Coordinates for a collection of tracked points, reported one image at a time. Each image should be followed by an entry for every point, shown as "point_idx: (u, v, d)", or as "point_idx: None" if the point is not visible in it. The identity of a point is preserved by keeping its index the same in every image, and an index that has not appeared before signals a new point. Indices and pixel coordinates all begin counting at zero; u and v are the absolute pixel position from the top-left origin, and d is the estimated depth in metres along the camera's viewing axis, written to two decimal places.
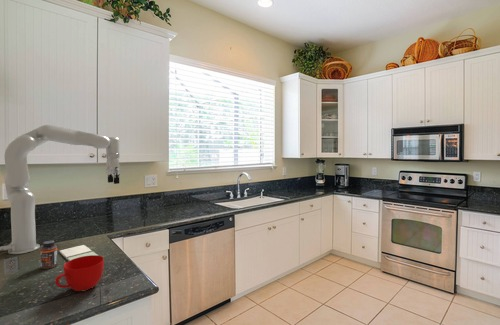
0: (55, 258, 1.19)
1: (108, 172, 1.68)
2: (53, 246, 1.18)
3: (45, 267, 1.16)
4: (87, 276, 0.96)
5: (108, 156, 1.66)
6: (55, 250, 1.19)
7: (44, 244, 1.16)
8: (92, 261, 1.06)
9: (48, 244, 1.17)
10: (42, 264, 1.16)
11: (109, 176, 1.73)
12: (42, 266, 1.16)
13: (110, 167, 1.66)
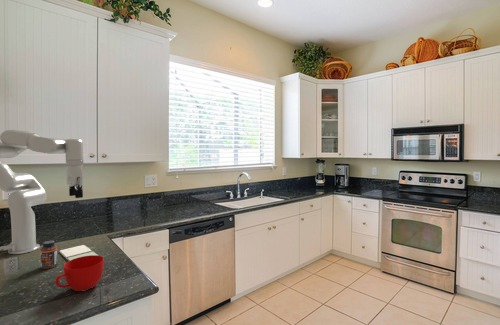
0: (55, 258, 1.19)
1: (68, 183, 1.33)
2: (53, 246, 1.18)
3: (45, 267, 1.16)
4: (87, 276, 0.96)
5: (68, 163, 1.31)
6: (55, 250, 1.19)
7: (44, 244, 1.16)
8: (92, 261, 1.06)
9: (48, 244, 1.17)
10: (42, 264, 1.16)
11: (71, 188, 1.38)
12: (42, 266, 1.16)
13: (70, 177, 1.31)
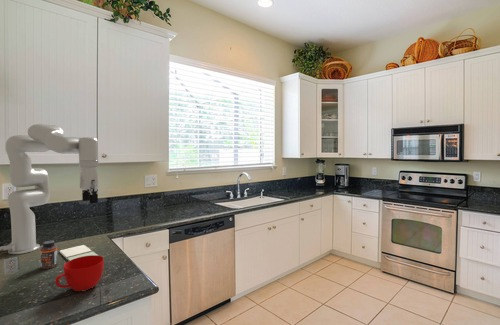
0: (55, 258, 1.19)
1: (82, 187, 1.19)
2: (53, 246, 1.18)
3: (45, 267, 1.16)
4: (87, 276, 0.96)
5: (81, 164, 1.17)
6: (55, 250, 1.19)
7: (44, 244, 1.16)
8: (92, 261, 1.06)
9: (48, 244, 1.17)
10: (42, 264, 1.16)
11: (84, 192, 1.24)
12: (42, 266, 1.16)
13: (84, 180, 1.17)
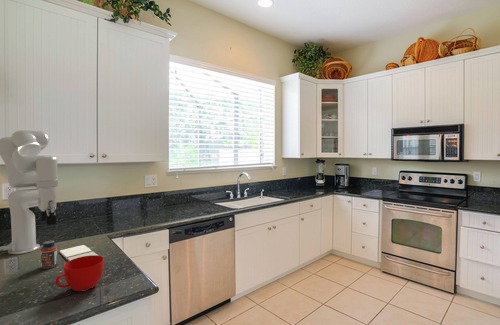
0: (55, 258, 1.19)
1: (40, 207, 1.16)
2: (53, 246, 1.18)
3: (45, 267, 1.16)
4: (87, 276, 0.96)
5: (38, 185, 1.14)
6: (55, 250, 1.19)
7: (44, 244, 1.16)
8: (92, 261, 1.06)
9: (48, 244, 1.17)
10: (42, 264, 1.16)
11: (44, 212, 1.20)
12: (42, 266, 1.16)
13: (41, 201, 1.13)
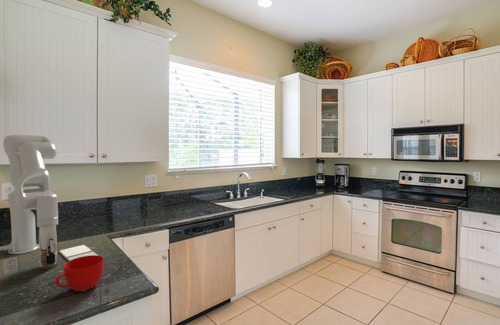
0: (55, 258, 1.19)
1: (40, 245, 1.16)
2: None
3: (45, 267, 1.16)
4: (87, 276, 0.96)
5: (39, 223, 1.14)
6: (55, 250, 1.19)
7: None
8: (92, 261, 1.06)
9: None
10: (42, 264, 1.16)
11: None
12: (42, 266, 1.16)
13: (42, 239, 1.14)
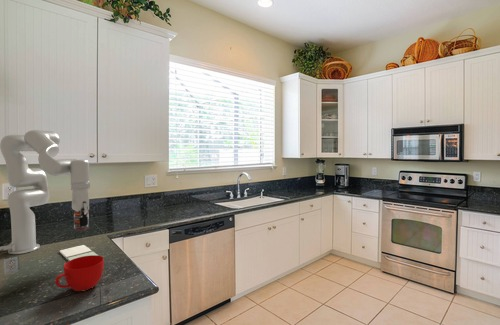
0: None
1: (74, 208, 1.22)
2: None
3: (78, 229, 1.22)
4: (87, 276, 0.96)
5: (73, 186, 1.20)
6: None
7: None
8: (92, 261, 1.06)
9: None
10: (75, 226, 1.22)
11: None
12: (75, 228, 1.22)
13: (76, 202, 1.20)
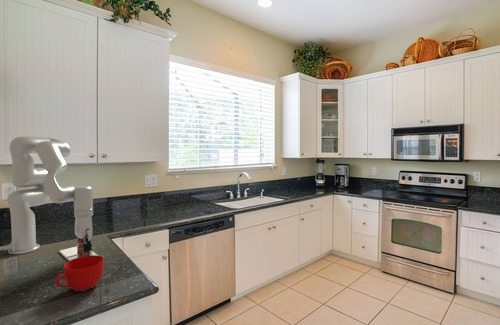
0: None
1: (77, 235, 1.23)
2: None
3: None
4: (87, 276, 0.96)
5: (76, 214, 1.21)
6: None
7: None
8: (92, 261, 1.06)
9: (85, 236, 1.24)
10: (79, 255, 1.23)
11: None
12: None
13: (79, 229, 1.21)
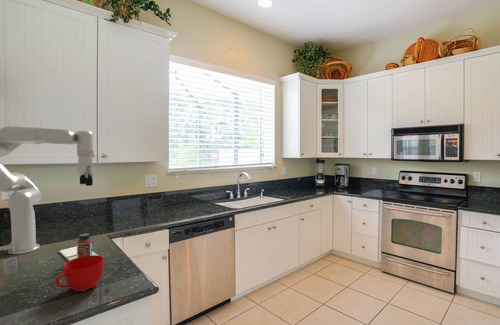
0: (90, 250, 1.26)
1: (79, 172, 1.43)
2: (88, 238, 1.25)
3: None
4: (87, 276, 0.96)
5: (79, 153, 1.41)
6: (90, 242, 1.26)
7: (81, 236, 1.24)
8: (92, 261, 1.06)
9: (84, 236, 1.24)
10: (79, 255, 1.23)
11: (81, 177, 1.48)
12: None
13: (81, 166, 1.41)
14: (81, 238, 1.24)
